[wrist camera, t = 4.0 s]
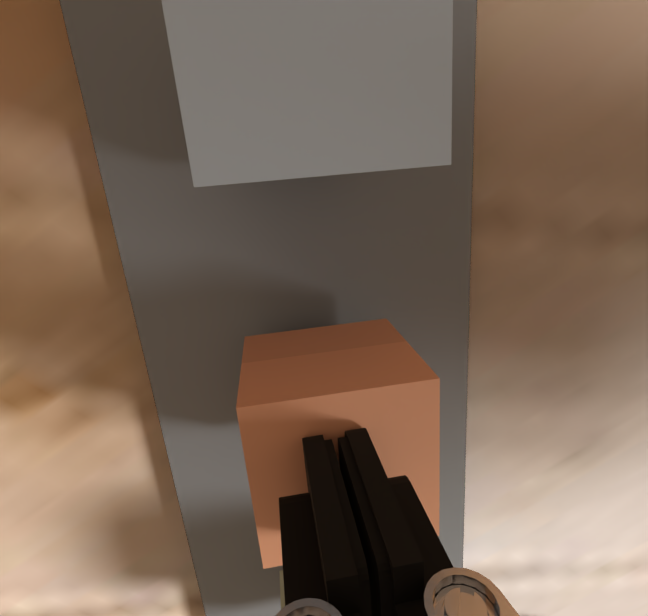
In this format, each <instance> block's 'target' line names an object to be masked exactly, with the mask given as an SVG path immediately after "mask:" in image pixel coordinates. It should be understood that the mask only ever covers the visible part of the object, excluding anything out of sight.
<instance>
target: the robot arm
mask: <svg viewBox="0 0 648 616" xmlns="http://www.w3.org/2000/svg"><path fill="white" fill-rule="evenodd" d="M302 444H303V452H304V461H305V469H306V478H307V486H308V493H302V494H296V495H291V496H285V497H280V498H279V514H280V530H281V546H282V563H283V579H284V596H285V606H284V607H283V608H282V609H281V610H280V611H279V612H278V613H277V614H276V615H275V616H519V615H518V613H517V612H516V611H515V609H514V608H513V607H512V605H511V604H510V603H509V602H508V600H507V599H506V598H505V596H504V595H503V594H502V592H501V591H500V590H499V589H498V588H497V587H496V586H495V585H494V584H493V583H492V582H491V581H490V580H489V579H487V578H486V577H484V576H483V575H481V574H480V573H478V572H475V571H472V570H469V569H466V568H456V567H453V565H452V563H451V561H450V559H449V557H448V555H447V553H446V551H445V549H444V547H443V545H442V543H441V541H440V539H439V537H438V535H437V533H436V531H435V529H434V527H433V526H432V524H431V522H430V520H429V518H428V516H427V514H426V512H425V510H424V508H423V506H422V504H421V502H420V500H419V498H418V496H417V494H416V492H415V490H414V488H413V486H412V484H411V482H410V480H409V479H408V477H407V476H406V475H403V476H397V477H391V478H388V477H387V475H386V473H385V470H384V468H383V466H382V463H381V461H380V459H379V457H378V454H377V452H376V450H375V447H374V445H373V443H372V440H371V438H370V436H369V433H368V431H367V429H366V428H360V429H354V430H348V431H345V437H341V438H338V451H339V462H340V466H339V463H338V459H337V456H336V452H335V449H334V445H333V442H332V439H329V440H324V437H323V435H317V436H311V437H305V438H302Z"/></svg>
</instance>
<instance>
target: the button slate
mask: <svg viewBox="0 0 648 616" xmlns="http://www.w3.org/2000/svg"><path fill="white" fill-rule="evenodd" d="M161 1H162V7H163V13H164V18H165V24H166V30H167V36H168V41H169V47H170V53H171V59H172V64H173V70H174V76H175V82H176V87H177V93H178V99H179V105H180V110H181V116H182V122H183V128H184V133H185V139H186V145H187V151H188V156H189V162H190V168H191V174H192V179H193V185H194V187H204V186H216V185H227V184H238V183H249V182H261V181H272V180H283V179H295V178H306V177H317V176H329V175H340V174H351V173H362V172H374V171H385V170H396V169H408V168H419V167H430V166H442V165H451V148H452V47H453V0H161Z"/></svg>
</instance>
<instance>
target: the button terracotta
mask: <svg viewBox="0 0 648 616" xmlns="http://www.w3.org/2000/svg"><path fill="white" fill-rule="evenodd" d="M236 411H237V417H238V423H239V429H240V435H241V441H242V446H243V452H244V458H245V464H246V470H247V476H248V482H249V487H250V493H251V499H252V505H253V511H254V517H255V523H256V528H257V534H258V540H259V546H260V552H261V558H262V564H263V569H266V568H272V567H277V566H282V565H283V563H282V546H281V530H280V514H279V498H280V497H285V496H291V495H296V494H302V493H308V486H307V478H306V469H305V461H304V452H303V444H302V438H305V437H311V436H317V435H323V437H324V440H329V439H332V442H333V445H334V449H335V452H336V456H337V459H338V463H339V466H340V462H339V451H338V438H341V437H345V431H348V430H354V429H360V428H366V429H367V431H368V433H369V436H370V438H371V440H372V443H373V445H374V447H375V450H376V452H377V454H378V457H379V459H380V461H381V463H382V466H383V468H384V470H385V473H386V475H387V477H388V478H391V477H397V476H403V475H406V476H407V477H408V479H409V480H410V482H411V484H412V486H413V488H414V490H415V492H416V494H417V496H418V498H419V500H420V502H421V504H422V506H423V508H424V510H425V512H426V514H427V516H428V518H429V520H430V522H431V524H432V526H433V527H434V529H435V531H436V533H437V535H438V536H439V508H440V378H439V377H438V376H437V375H436V374H435V372H434V371H433V370H432V369H431V368H430V367H429V366H428V365H427V363H426V362H425V361H424V360H423V359H422V358H421V357H420V356H419V355H418V353H417V352H416V351H415V350H414V349H413V348H412V347H411V346H410V344H409V343H408V342H407V341H406V340H405V339H404V338H403V337H402V335H401V334H400V333H399V332H398V331H397V330H396V329H395V328H394V326H393V325H392V324H391V323H390V322H389V321H388V320H387V319H378V320H370V321H362V322H355V323H347V324H339V325H331V326H323V327H315V328H308V329H300V330H292V331H284V332H276V333H269V334H261V335H253V336H245V339H244V347H243V355H242V363H241V371H240V379H239V388H238V396H237V404H236Z"/></svg>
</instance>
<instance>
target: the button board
mask: <svg viewBox="0 0 648 616" xmlns="http://www.w3.org/2000/svg"><path fill="white" fill-rule="evenodd" d="M60 5H61V9H62V13H63V17H64V21H65V26H66V30H67V34H68V38H69V42H70V47H71V51H72V55H73V59H74V64H75V68H76V72H77V76H78V80H79V85H80V89H81V93H82V97H83V101H84V106H85V110H86V114H87V118H88V122H89V127H90V131H91V135H92V139H93V143H94V148H95V152H96V156H97V160H98V164H99V169H100V173H101V177H102V181H103V185H104V190H105V194H106V198H107V202H108V206H109V211H110V215H111V219H112V223H113V227H114V232H115V236H116V240H117V244H118V249H119V253H120V257H121V261H122V265H123V270H124V274H125V278H126V282H127V286H128V291H129V295H130V299H131V303H132V307H133V312H134V316H135V320H136V324H137V328H138V333H139V337H140V341H141V345H142V349H143V354H144V358H145V362H146V366H147V370H148V375H149V379H150V383H151V387H152V391H153V396H154V400H155V404H156V408H157V412H158V417H159V421H160V425H161V429H162V434H163V438H164V442H165V446H166V450H167V455H168V459H169V463H170V467H171V471H172V476H173V480H174V484H175V488H176V492H177V497H178V501H179V505H180V509H181V513H182V518H183V522H184V526H185V530H186V534H187V539H188V543H189V547H190V551H191V555H192V560H193V564H194V568H195V572H196V576H197V581H198V585H199V589H200V593H201V597H202V602H203V606H204V610H205V614H206V616H275V615H276V614H277V613H278V612H279V611H280V610H281V598H280V573H279V571H280V570H283V565H282V566H277V567H272V568H266V569H263V564H262V558H261V552H260V546H259V540H258V534H257V528H256V523H255V517H254V511H253V505H252V499H251V493H250V487H249V482H248V476H247V470H246V464H245V458H244V452H243V446H242V441H241V435H240V429H239V423H238V417H237V411H236V404H237V396H238V388H239V379H240V371H241V363H242V355H243V347H244V339H245V336H253V335H261V334H269V333H276V332H284V331H292V330H300V329H308V328H315V327H323V326H331V325H339V324H347V323H355V322H362V321H370V320H378V319H387V320H388V321H389V322H390V323H391V324H392V325H393V326H394V328H395V329H396V330H397V331H398V332H399V333H400V334H401V335H402V337H403V338H404V339H405V340H406V341H407V342H408V343H409V344H410V346H411V347H412V348H413V349H414V350H415V351H416V352H417V353H418V355H419V356H420V357H421V358H422V359H423V360H424V361H425V362H426V363H427V365H428V366H429V367H430V368H431V369H432V370H433V371H434V372H435V374H436V375H437V376H438V377H439V378H440V508H439V536H438V537H439V539H440V541H441V543H442V545H443V547H444V549H445V551H446V553H447V555H448V557H449V559H450V561H451V563H452V565H453V567H456V568H463V538H464V498H465V458H466V418H467V378H468V338H469V298H470V258H471V218H472V179H473V139H474V99H475V59H476V19H477V0H453V47H452V148H451V165H442V166H430V167H419V168H408V169H396V170H385V171H374V172H362V173H351V174H340V175H329V176H317V177H306V178H295V179H283V180H272V181H261V182H249V183H238V184H227V185H216V186H204V187H194V185H193V179H192V174H191V168H190V162H189V156H188V151H187V145H186V139H185V133H184V128H183V122H182V116H181V110H180V105H179V99H178V93H177V87H176V82H175V76H174V70H173V64H172V59H171V53H170V47H169V41H168V36H167V30H166V24H165V18H164V13H163V7H162V1H161V0H60Z"/></svg>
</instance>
